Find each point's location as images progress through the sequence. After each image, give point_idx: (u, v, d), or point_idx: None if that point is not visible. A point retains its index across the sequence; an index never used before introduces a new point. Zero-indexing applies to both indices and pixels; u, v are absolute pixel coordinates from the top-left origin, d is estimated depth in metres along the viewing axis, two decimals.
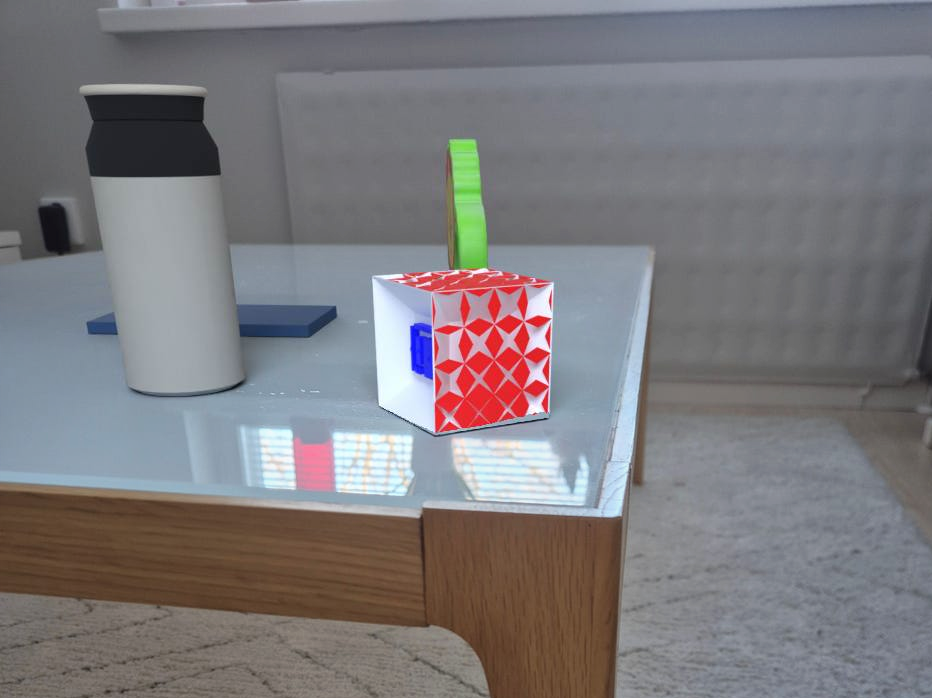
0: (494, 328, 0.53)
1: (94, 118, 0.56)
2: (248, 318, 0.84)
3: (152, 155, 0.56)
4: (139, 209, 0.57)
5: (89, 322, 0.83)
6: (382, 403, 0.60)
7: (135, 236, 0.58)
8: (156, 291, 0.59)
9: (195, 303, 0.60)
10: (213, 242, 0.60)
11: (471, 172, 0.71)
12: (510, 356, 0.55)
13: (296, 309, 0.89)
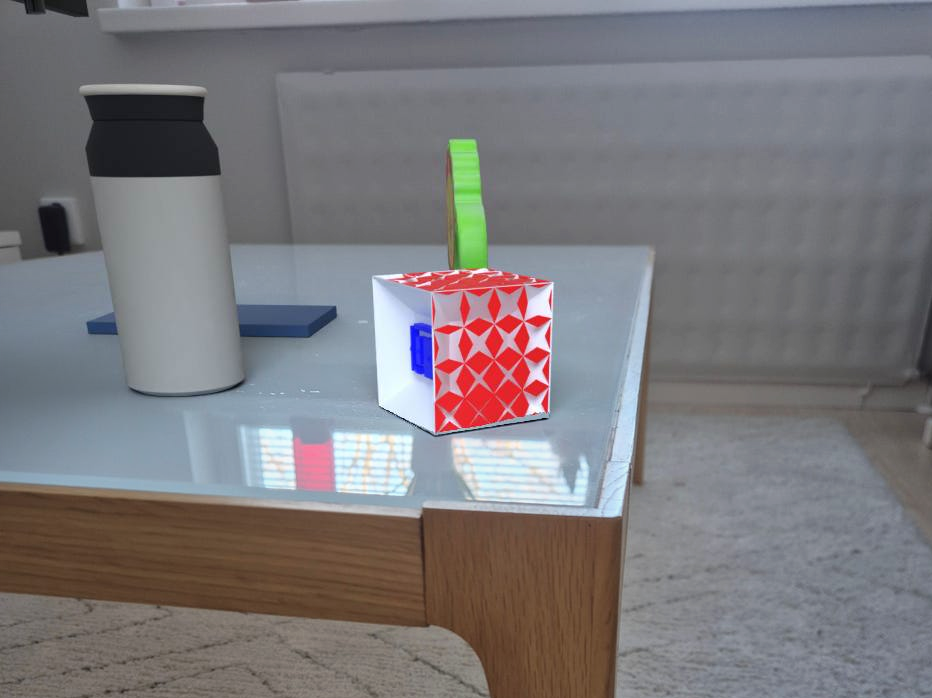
0: (494, 328, 0.53)
1: (94, 118, 0.56)
2: (248, 318, 0.84)
3: (152, 156, 0.56)
4: (139, 209, 0.57)
5: (89, 322, 0.83)
6: (382, 403, 0.60)
7: (135, 236, 0.58)
8: (156, 291, 0.59)
9: (195, 303, 0.60)
10: (213, 242, 0.60)
11: (471, 172, 0.71)
12: (510, 356, 0.55)
13: (296, 309, 0.89)
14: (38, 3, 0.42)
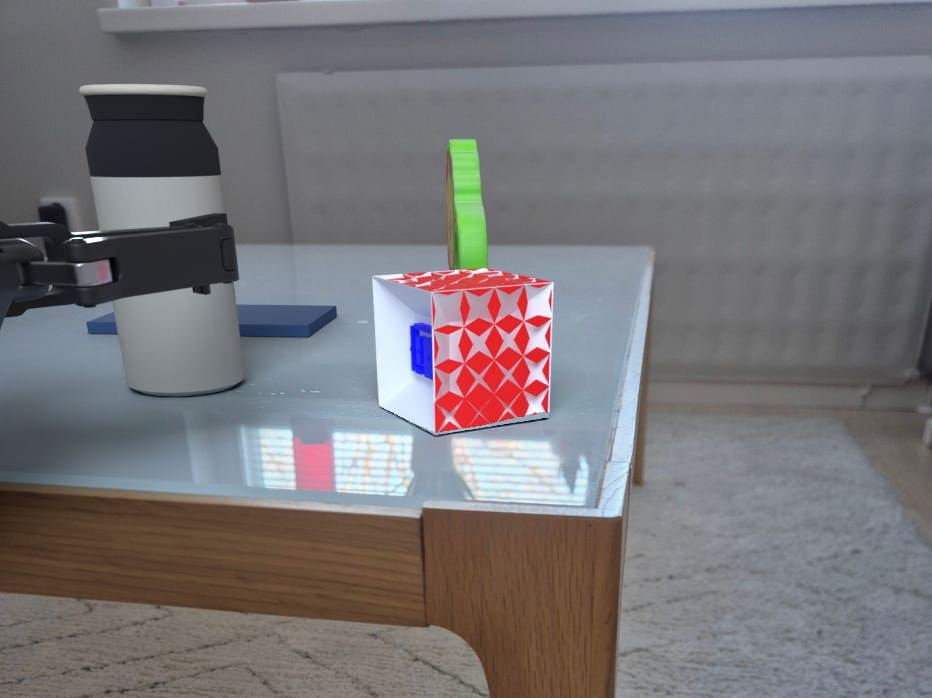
0: (494, 328, 0.53)
1: (94, 118, 0.56)
2: (248, 318, 0.84)
3: (152, 155, 0.56)
4: (139, 209, 0.57)
5: (89, 322, 0.83)
6: (382, 403, 0.60)
7: None
8: None
9: (195, 303, 0.60)
10: None
11: (471, 172, 0.71)
12: (510, 356, 0.55)
13: (296, 309, 0.89)
14: (206, 287, 0.47)
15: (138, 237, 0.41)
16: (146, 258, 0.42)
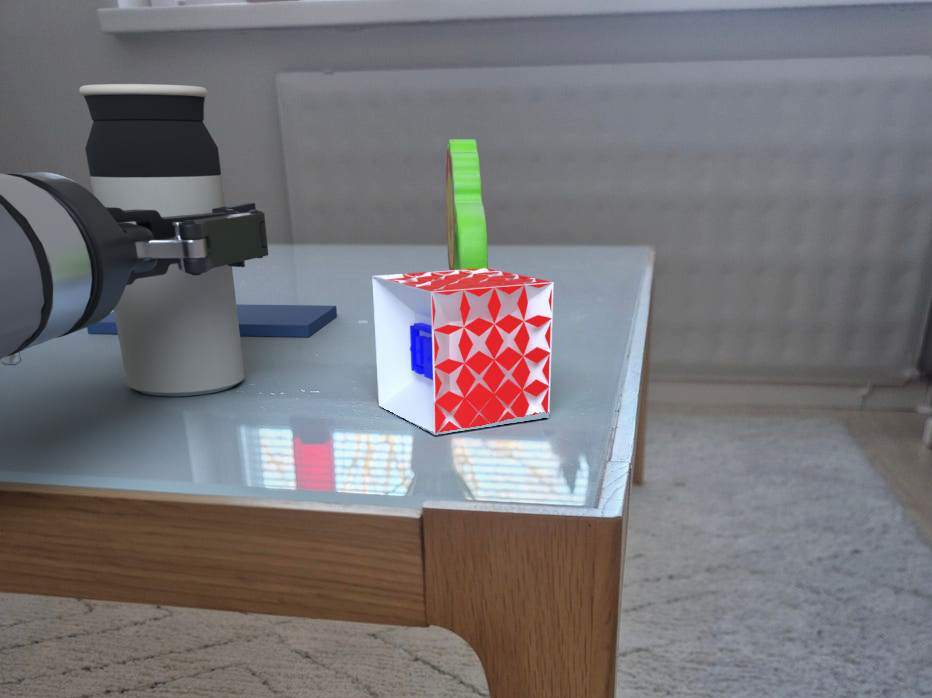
0: (494, 328, 0.53)
1: (94, 118, 0.56)
2: (248, 318, 0.84)
3: (152, 155, 0.56)
4: None
5: None
6: (382, 403, 0.60)
7: None
8: (156, 291, 0.59)
9: (195, 303, 0.60)
10: None
11: (471, 172, 0.71)
12: (510, 356, 0.55)
13: (296, 309, 0.89)
14: (243, 261, 0.59)
15: (218, 220, 0.53)
16: (223, 237, 0.53)
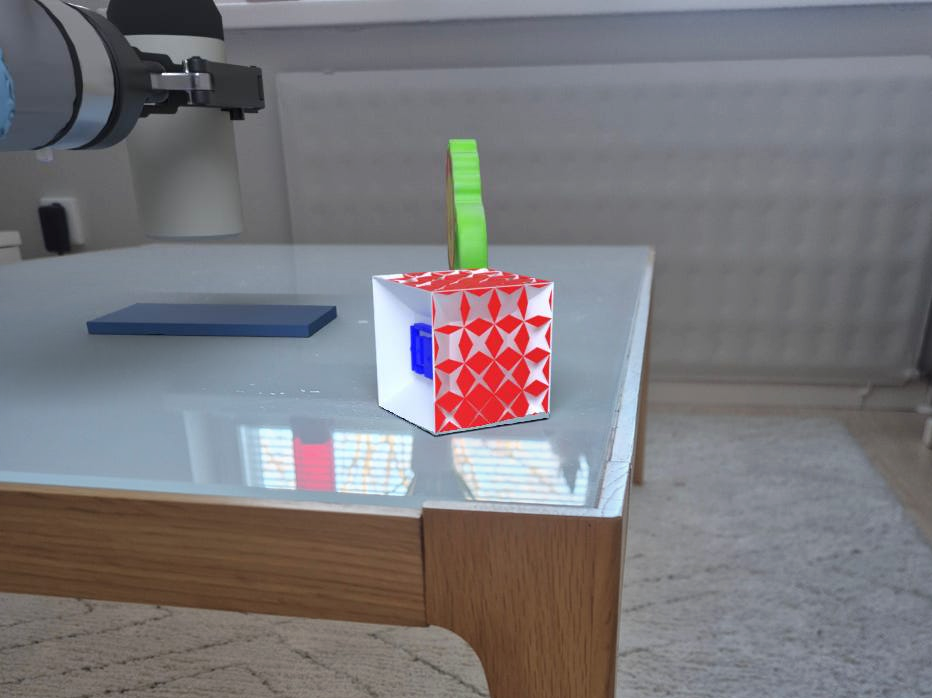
0: (494, 328, 0.53)
1: None
2: (248, 318, 0.84)
3: (165, 15, 0.64)
4: None
5: (89, 322, 0.83)
6: (382, 403, 0.60)
7: None
8: (167, 140, 0.68)
9: (201, 154, 0.69)
10: None
11: (471, 172, 0.71)
12: (510, 356, 0.55)
13: (296, 309, 0.89)
14: (243, 115, 0.68)
15: (221, 63, 0.61)
16: (225, 79, 0.62)
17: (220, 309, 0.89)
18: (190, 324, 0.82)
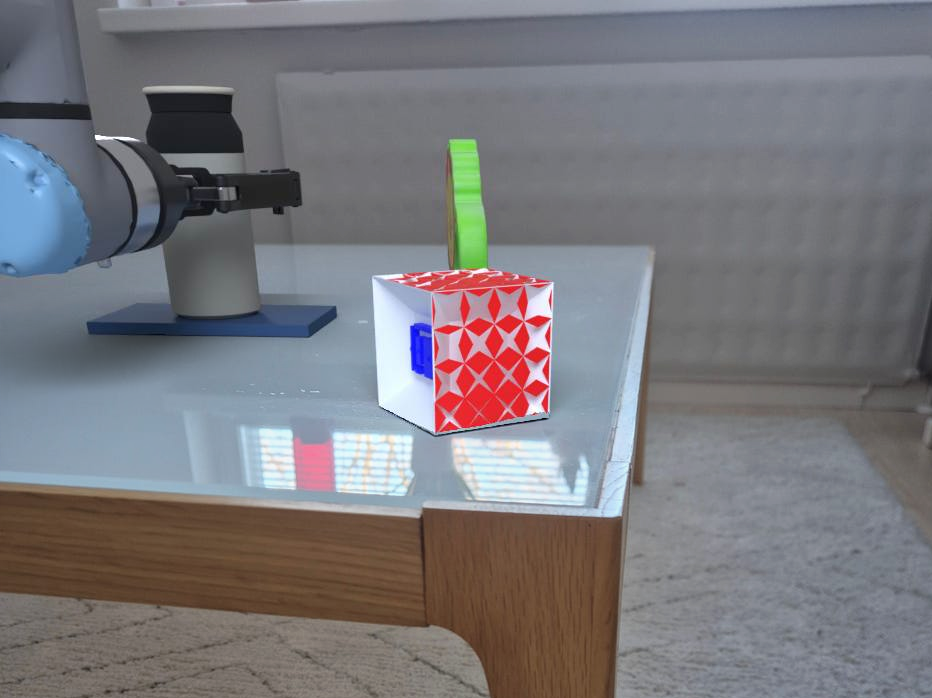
0: (494, 328, 0.53)
1: (153, 110, 0.77)
2: (248, 318, 0.84)
3: (196, 137, 0.77)
4: None
5: (89, 322, 0.83)
6: (382, 403, 0.60)
7: None
8: (197, 238, 0.80)
9: (225, 248, 0.81)
10: None
11: (471, 172, 0.71)
12: (510, 356, 0.55)
13: (296, 309, 0.89)
14: (282, 210, 0.78)
15: (250, 175, 0.72)
16: (253, 188, 0.73)
17: None
18: (190, 324, 0.82)
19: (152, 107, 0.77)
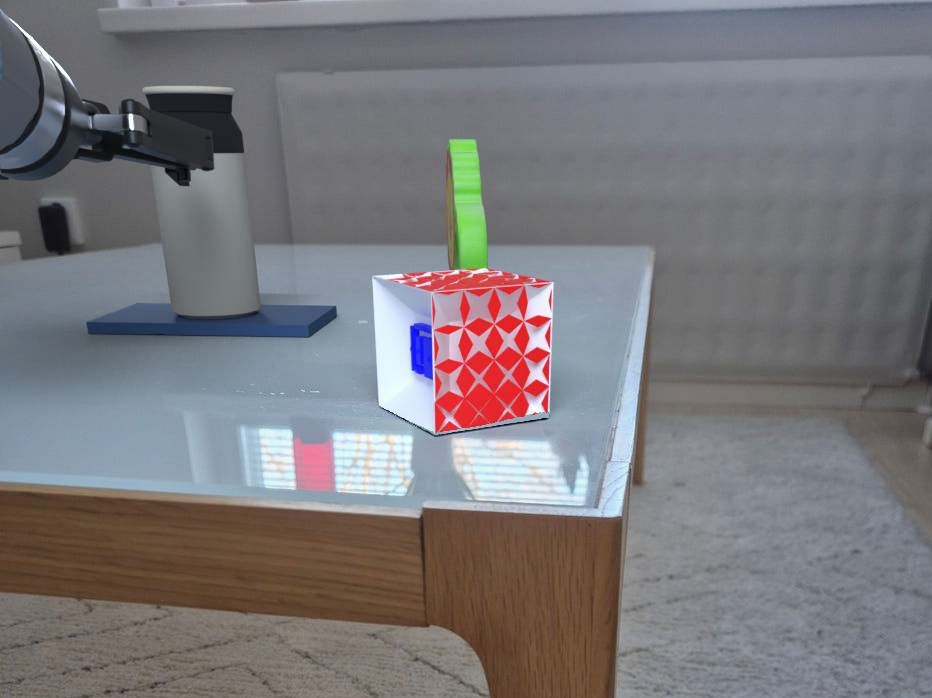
0: (494, 328, 0.53)
1: (153, 110, 0.78)
2: (248, 318, 0.84)
3: None
4: None
5: (89, 322, 0.83)
6: (382, 403, 0.60)
7: (182, 197, 0.79)
8: (197, 238, 0.80)
9: (225, 248, 0.81)
10: (238, 202, 0.81)
11: (471, 172, 0.71)
12: (510, 356, 0.55)
13: (296, 309, 0.89)
14: (189, 175, 0.68)
15: (162, 114, 0.62)
16: (165, 130, 0.62)
17: None
18: (190, 324, 0.82)
19: (152, 107, 0.77)
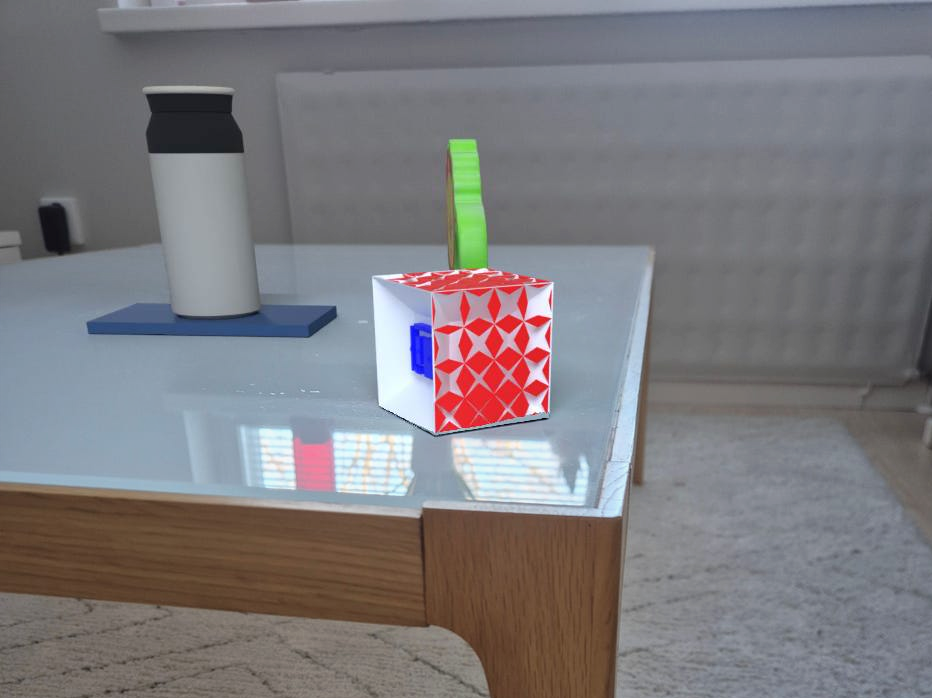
0: (494, 328, 0.53)
1: (153, 110, 0.78)
2: (248, 318, 0.84)
3: (196, 137, 0.77)
4: (186, 177, 0.78)
5: (89, 322, 0.83)
6: (382, 403, 0.60)
7: (182, 197, 0.79)
8: (197, 238, 0.80)
9: (225, 248, 0.81)
10: (238, 202, 0.81)
11: (471, 172, 0.71)
12: (510, 356, 0.55)
13: (296, 309, 0.89)
14: None
15: None
16: None
17: None
18: (190, 324, 0.82)
19: (152, 107, 0.77)
